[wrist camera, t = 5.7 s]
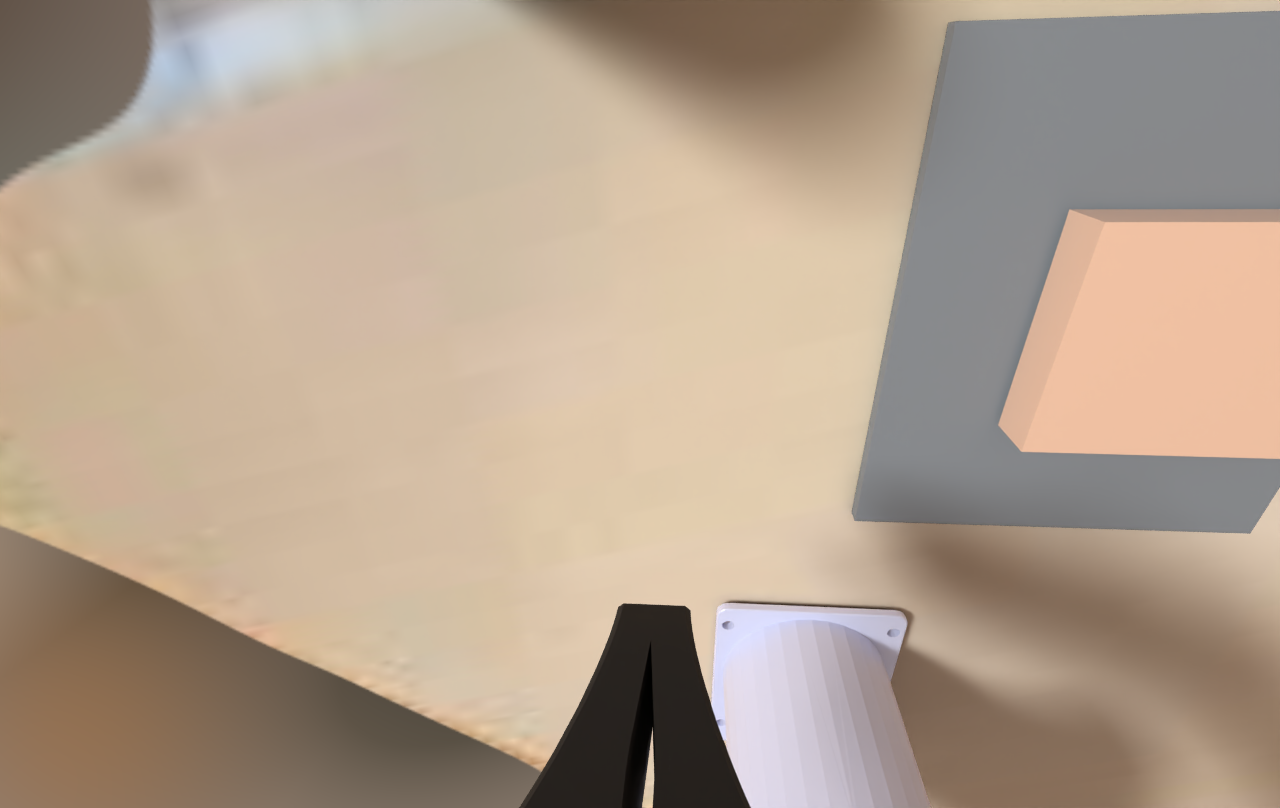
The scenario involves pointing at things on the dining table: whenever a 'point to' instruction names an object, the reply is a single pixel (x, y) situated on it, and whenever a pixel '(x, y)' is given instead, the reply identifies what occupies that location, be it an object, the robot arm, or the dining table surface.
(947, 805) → the dining table surface
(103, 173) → the dining table surface
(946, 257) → the slate pad
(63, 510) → the dining table surface
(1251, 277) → the tile
